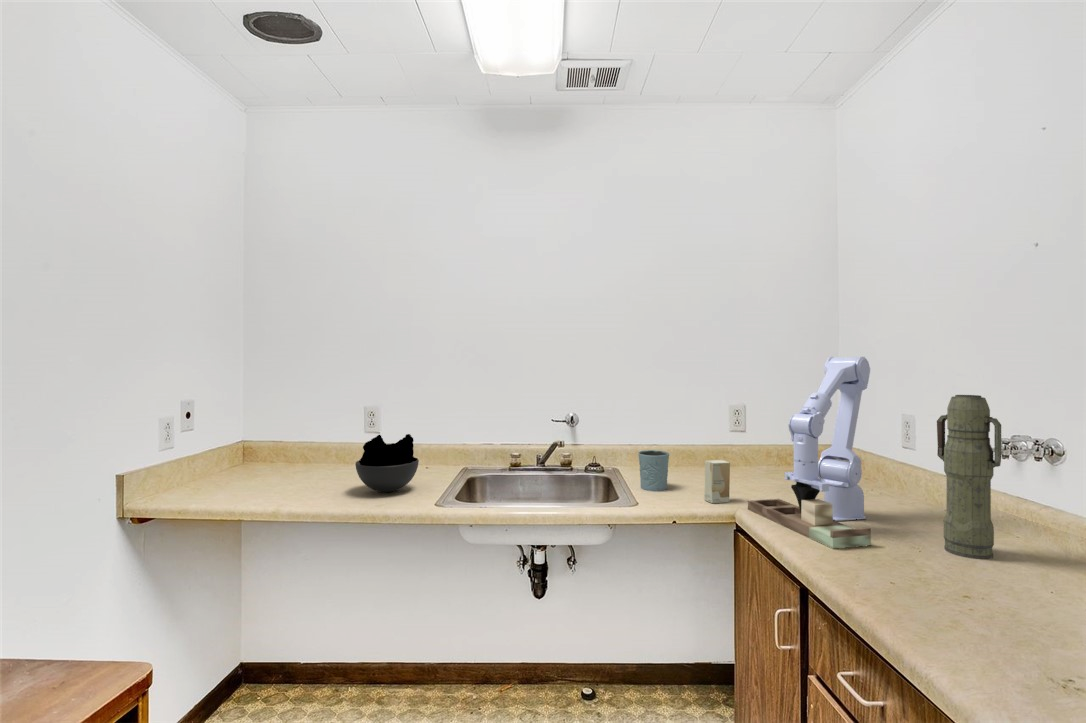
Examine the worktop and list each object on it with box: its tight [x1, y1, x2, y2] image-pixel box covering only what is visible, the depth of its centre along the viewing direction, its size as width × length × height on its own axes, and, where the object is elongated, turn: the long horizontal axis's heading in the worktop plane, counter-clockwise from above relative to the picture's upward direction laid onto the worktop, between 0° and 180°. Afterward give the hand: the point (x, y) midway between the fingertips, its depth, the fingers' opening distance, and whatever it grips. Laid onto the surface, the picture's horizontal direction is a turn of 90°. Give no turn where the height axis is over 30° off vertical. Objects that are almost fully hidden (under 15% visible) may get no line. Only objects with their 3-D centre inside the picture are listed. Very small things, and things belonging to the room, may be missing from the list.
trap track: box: [747, 498, 872, 550], centre depth 143 cm, size 10×34×4 cm, turn 12°
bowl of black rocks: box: [355, 433, 420, 493], centre depth 182 cm, size 20×20×19 cm
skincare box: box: [704, 459, 731, 504], centre depth 168 cm, size 6×4×12 cm
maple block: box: [801, 498, 833, 526], centre depth 138 cm, size 5×5×5 cm
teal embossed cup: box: [637, 449, 670, 492], centre depth 185 cm, size 10×10×12 cm
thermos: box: [936, 394, 1002, 560], centre depth 123 cm, size 9×12×35 cm
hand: (805, 513), depth 142 cm, fingers closed
